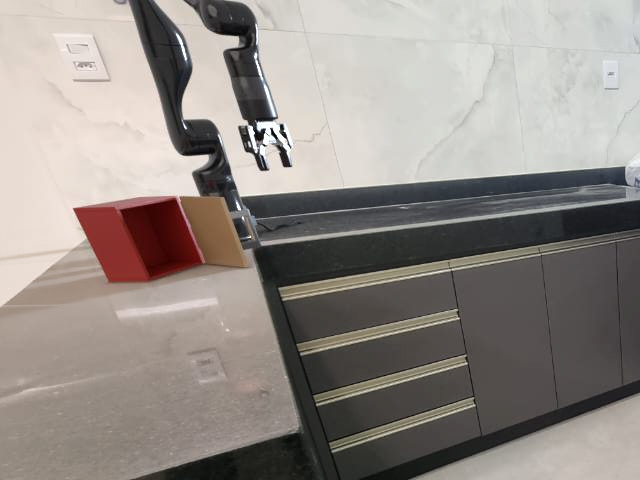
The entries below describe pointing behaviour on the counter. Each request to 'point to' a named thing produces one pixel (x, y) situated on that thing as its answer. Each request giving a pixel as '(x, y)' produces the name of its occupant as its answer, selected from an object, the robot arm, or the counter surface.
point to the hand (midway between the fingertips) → (276, 169)
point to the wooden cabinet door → (219, 230)
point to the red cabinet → (140, 238)
